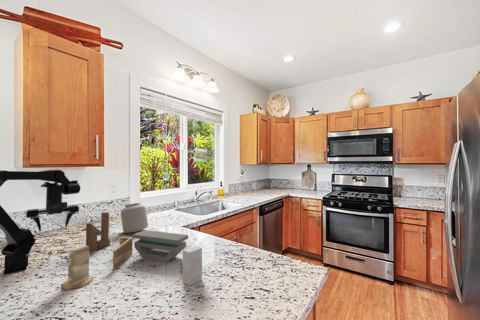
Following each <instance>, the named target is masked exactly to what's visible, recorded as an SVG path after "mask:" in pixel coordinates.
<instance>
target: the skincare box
mask: <svg viewBox="0 0 480 320" xmlns="http://www.w3.org/2000/svg"><path fill="white" fill-rule="evenodd" d="M202 280H203V248H202V247H199V246H197V245H193V246H191V247H188V248H184V249H183V250H182V283H183V284H185V285H187V286H188V287H191V286H192V285H195V284H196V283H198V282H200V281H202Z"/></svg>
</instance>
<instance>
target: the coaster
mask: <svg viewBox="0 0 480 320" xmlns="http://www.w3.org/2000/svg"><path fill="white" fill-rule="evenodd" d="M93 279H94V278H93V276H92V275H90V274H89V278H88V279H86V280H84V281H82V282H80V283H78V284H76V285H73V284H68V279H66V280H65V281H64V282H63V283H62V284H61V288H62V289H63V290H68V291H69V290H76V289H77V290H78V289H80V288H83V287H85V286H87V285H90V284H91V283H92V282H93Z"/></svg>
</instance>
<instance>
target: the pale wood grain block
mask: <svg viewBox="0 0 480 320" xmlns="http://www.w3.org/2000/svg"><path fill="white" fill-rule="evenodd" d="M67 266H68V270H67V280H68V284H73V285H76V284H78V283H80V282H82V281H84V280H86V279H88V278H89V275H90V272H89V269H90V252H89V246H86V244H82V245H81V244H80V245H79V246H75V247H73V248H70V249H68V265H67Z"/></svg>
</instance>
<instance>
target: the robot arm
mask: <svg viewBox="0 0 480 320" xmlns="http://www.w3.org/2000/svg"><path fill="white" fill-rule="evenodd" d="M31 180H32V181H35V180H36V181H38V180H39V181H44V183H43V184H41V185H40V187H41V188H46V189H45V190H46V193H45V198H46V199H45V209H41V210H39V208H32V209H27V210H26V213H25V218H27V219H28V218H30V220H33V221H34V222H35V224H36V226H37V228H38V231H39V232H41V231H42V227H41V225H42V224H41V220H40V215H44V214H45V215H46V214H47V215H57V214H58V215H59V214H62V213H65V212H66V216H65V221H64V223H65V224H64V227H65V228H68V225H69V222H70V220H71V218H72V217H73V215H76V213H79V212H80V206H78V205H77V204H72V205H68V202H67V201H63V195H64V196H65V195H66V196H68V195H75V194H79V193H80V192H81V185H80V183H78V180H76V179H74V180H69V178H68V177H67V176H66V174H65V171H64V170H62V169H46V170H39V171H38V170H37V171H23V170H22V171H20V170H19V171H17V170H16V171H15V170H13V171H12V170H2V169H1V170H0V188H1V187H2V186H3V185H4V184H5V183H6V182H7V181H31ZM0 230H1V231H2V232H3V233H4V234H5V239H6V242H7V244H6V246H3V248H2V249H1V250H0V253H1V255H2V256H4V267H3V268H4V269H3V275H8V274H14V273H17V272H21V271H26V270H27V268H28V267H29V254H30V253H31V250H32V247H34V245H35V243H36V239H35V238H36V235H34V234H33V233H32V231H31V229H27V228H21V227H20V226H18V224H17V223H16V222H15V220H14V219H13V218H12V217H11V216H10V215H9V214H8V212H7V211H6V209H4V208H3V207H2V205H1V204H0Z"/></svg>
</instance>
